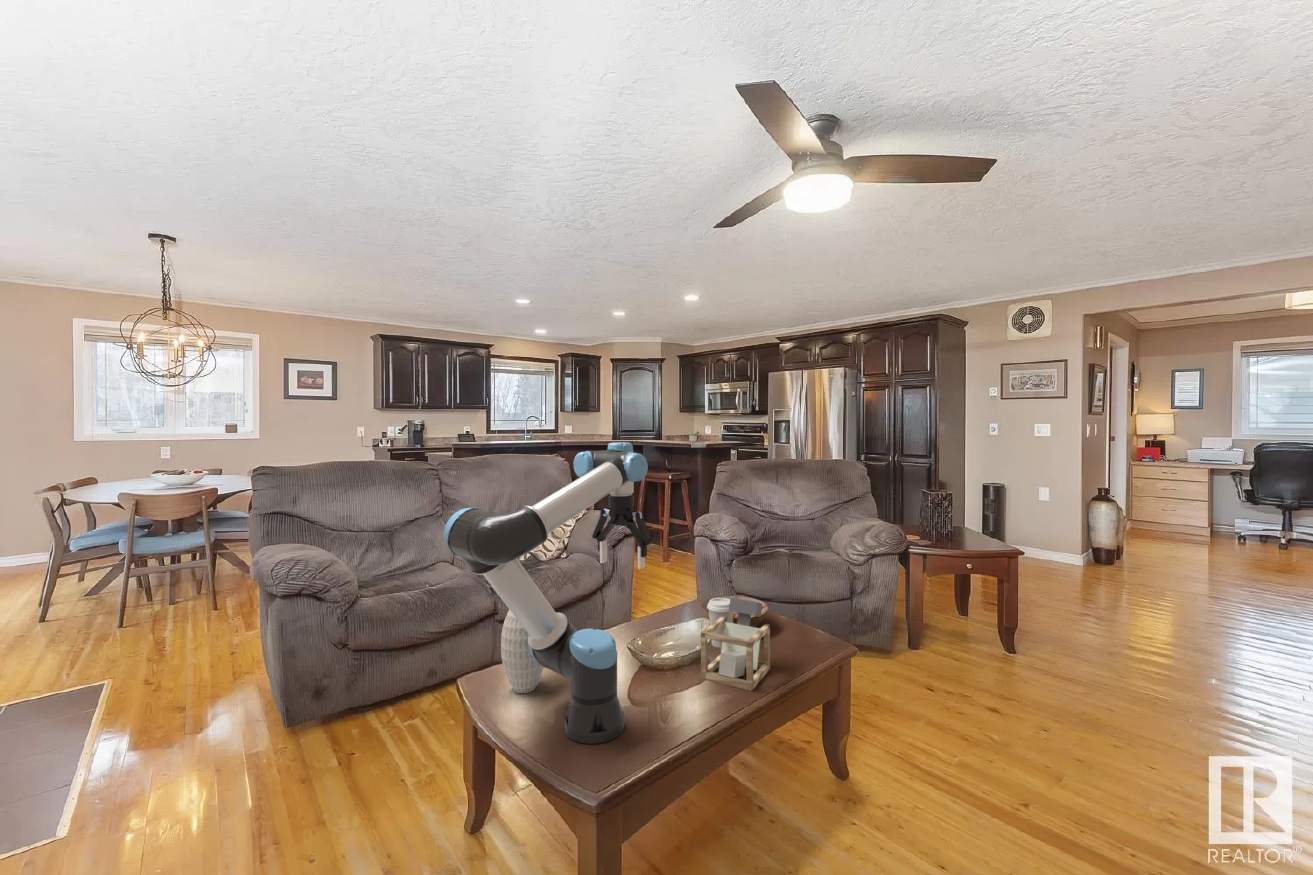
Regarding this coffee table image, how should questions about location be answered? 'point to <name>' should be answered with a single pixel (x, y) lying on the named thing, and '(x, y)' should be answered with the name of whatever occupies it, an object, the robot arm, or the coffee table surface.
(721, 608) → the coffee cup
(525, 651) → the vase
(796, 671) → the coffee table surface
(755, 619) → the bowl
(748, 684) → the maple stand
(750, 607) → the trapdoor
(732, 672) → the light gray block
